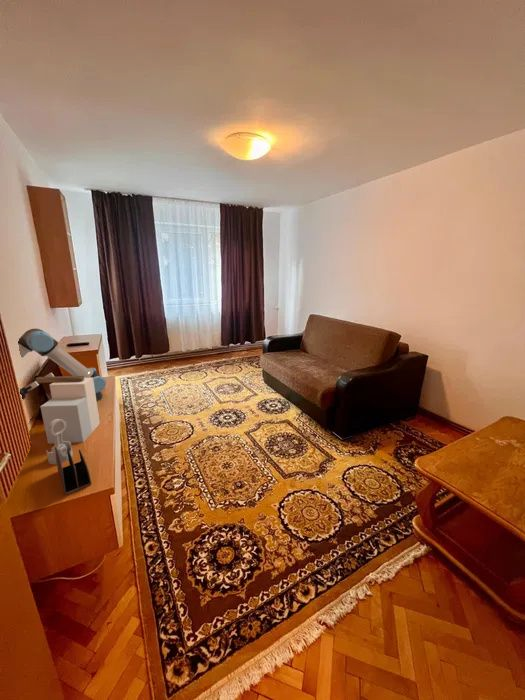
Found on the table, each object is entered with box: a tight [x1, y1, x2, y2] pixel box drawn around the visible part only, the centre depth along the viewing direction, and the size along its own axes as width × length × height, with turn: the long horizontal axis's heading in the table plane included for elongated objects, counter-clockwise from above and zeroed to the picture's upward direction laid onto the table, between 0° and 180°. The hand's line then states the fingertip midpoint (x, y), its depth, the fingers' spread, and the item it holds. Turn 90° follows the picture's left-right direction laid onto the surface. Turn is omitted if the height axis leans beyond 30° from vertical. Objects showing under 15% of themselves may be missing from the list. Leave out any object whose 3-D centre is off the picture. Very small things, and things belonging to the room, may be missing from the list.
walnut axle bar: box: [35, 375, 84, 384], centre depth 159 cm, size 3×24×2 cm, turn 96°
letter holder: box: [55, 447, 92, 496], centre depth 126 cm, size 10×20×14 cm, turn 41°
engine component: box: [45, 419, 74, 465], centre depth 139 cm, size 11×20×10 cm
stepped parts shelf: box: [39, 378, 101, 445], centre depth 159 cm, size 20×18×30 cm
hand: (45, 378), depth 158 cm, fingers open, 13 cm apart
